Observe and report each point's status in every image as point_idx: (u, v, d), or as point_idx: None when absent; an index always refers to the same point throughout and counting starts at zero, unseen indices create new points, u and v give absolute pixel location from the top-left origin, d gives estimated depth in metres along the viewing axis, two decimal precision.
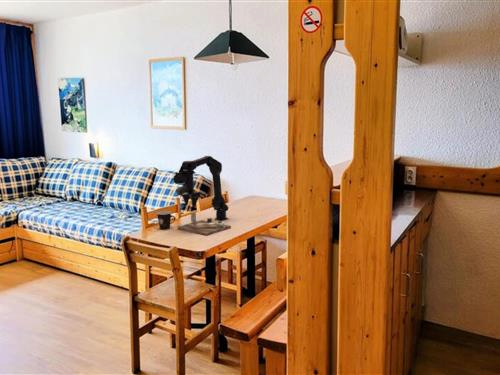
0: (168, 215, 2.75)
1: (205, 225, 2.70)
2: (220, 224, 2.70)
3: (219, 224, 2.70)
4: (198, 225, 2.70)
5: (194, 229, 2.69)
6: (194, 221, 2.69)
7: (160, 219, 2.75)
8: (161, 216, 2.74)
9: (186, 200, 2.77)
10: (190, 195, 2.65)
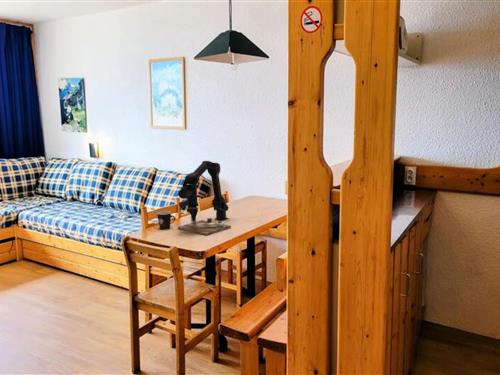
0: (168, 215, 2.75)
1: (205, 225, 2.70)
2: (220, 224, 2.70)
3: (219, 224, 2.70)
4: (198, 225, 2.70)
5: (194, 229, 2.69)
6: (194, 221, 2.69)
7: (160, 219, 2.75)
8: (161, 216, 2.74)
9: None
10: (187, 210, 2.62)
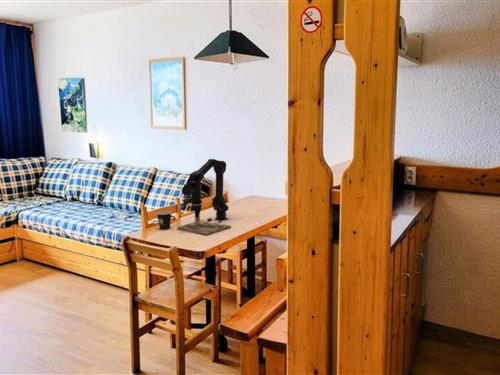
0: (168, 215, 2.75)
1: (206, 223, 2.75)
2: (218, 224, 2.70)
3: (217, 224, 2.70)
4: (200, 222, 2.76)
5: (194, 229, 2.69)
6: (196, 218, 2.77)
7: (160, 219, 2.75)
8: (161, 216, 2.74)
9: None
10: (191, 206, 2.69)
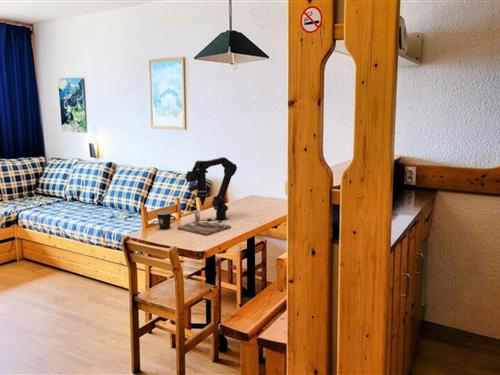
0: (168, 215, 2.75)
1: (206, 223, 2.75)
2: (218, 224, 2.70)
3: (217, 224, 2.70)
4: (200, 222, 2.76)
5: (194, 229, 2.69)
6: (196, 218, 2.77)
7: (160, 219, 2.75)
8: (161, 216, 2.74)
9: None
10: None
